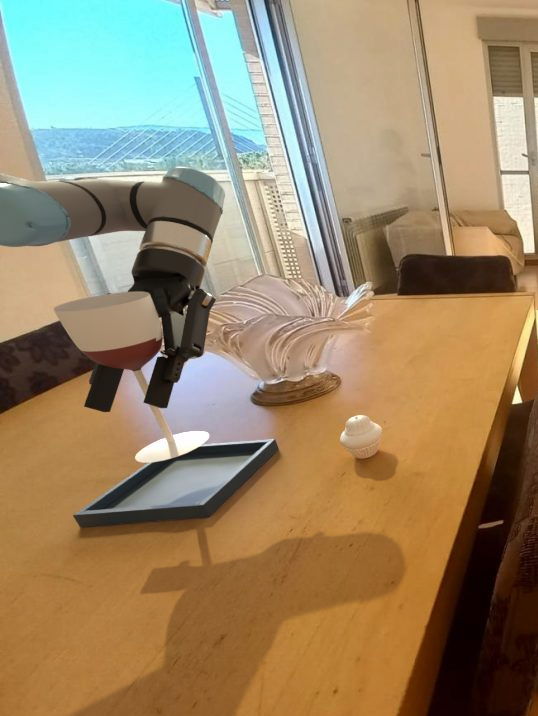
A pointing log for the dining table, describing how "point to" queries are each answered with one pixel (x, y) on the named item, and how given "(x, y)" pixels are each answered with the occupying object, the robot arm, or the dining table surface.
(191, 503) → the tray
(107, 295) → the wineglass
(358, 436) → the muffin
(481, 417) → the dining table surface
